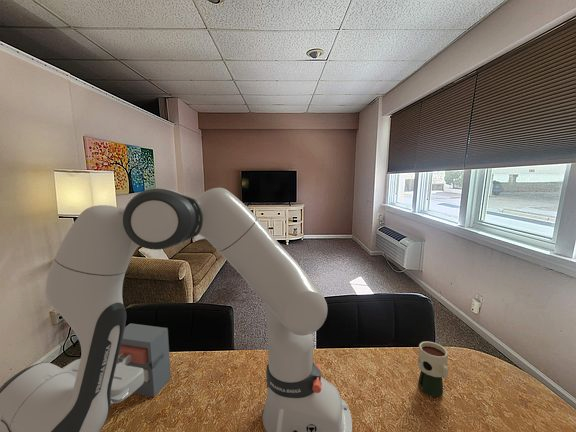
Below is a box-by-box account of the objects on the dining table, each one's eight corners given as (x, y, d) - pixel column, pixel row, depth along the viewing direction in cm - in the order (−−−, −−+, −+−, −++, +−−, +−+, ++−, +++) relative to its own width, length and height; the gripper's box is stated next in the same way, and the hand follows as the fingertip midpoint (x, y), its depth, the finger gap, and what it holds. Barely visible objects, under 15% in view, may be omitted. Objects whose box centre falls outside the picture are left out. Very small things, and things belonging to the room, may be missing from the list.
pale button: (147, 381, 69) (146, 370, 69) (117, 376, 71) (116, 365, 71) (157, 371, 73) (156, 360, 73) (128, 366, 75) (127, 356, 75)
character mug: (407, 377, 77) (409, 338, 75) (428, 374, 78) (430, 336, 76) (432, 408, 66) (435, 363, 65) (456, 405, 67) (460, 361, 66)
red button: (143, 364, 68) (142, 352, 67) (112, 359, 70) (111, 347, 69) (154, 354, 71) (153, 343, 71) (124, 349, 73) (123, 339, 73)
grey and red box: (154, 397, 70) (150, 342, 68) (115, 389, 72) (110, 336, 70) (170, 378, 77) (167, 328, 75) (134, 371, 79) (130, 323, 77)
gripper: (113, 393, 52) (159, 350, 66) (38, 378, 57) (96, 341, 70) (116, 419, 53) (161, 372, 67) (41, 403, 57) (98, 361, 71)
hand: (127, 356), depth 68 cm, fingers closed, pressing on red button
